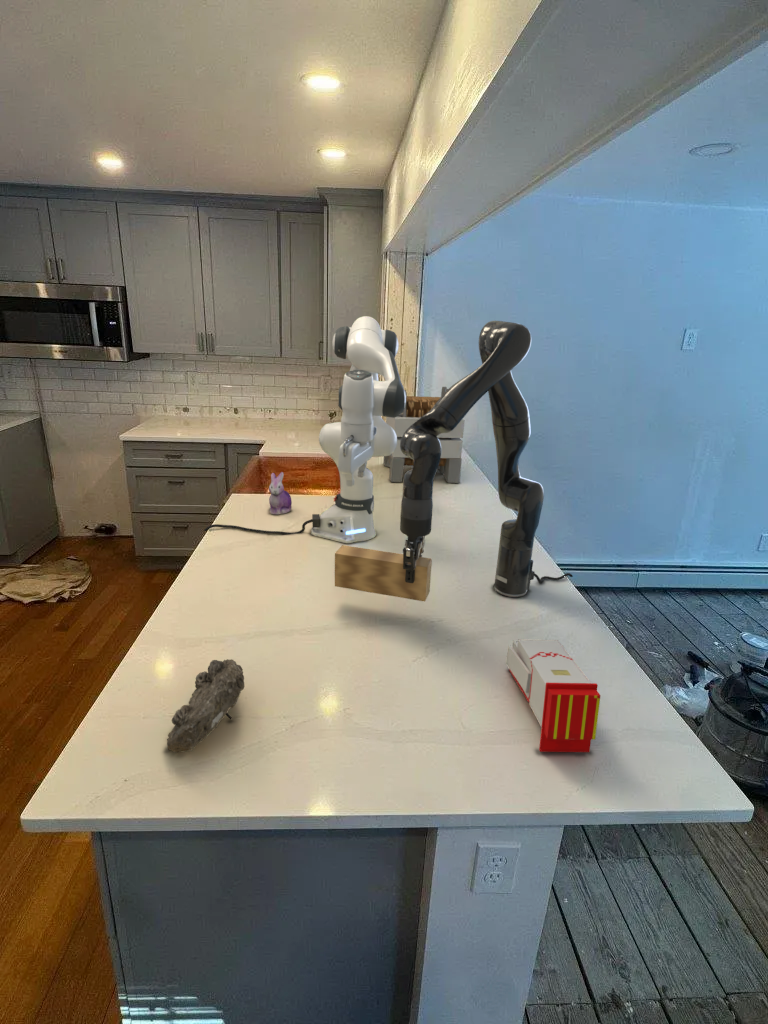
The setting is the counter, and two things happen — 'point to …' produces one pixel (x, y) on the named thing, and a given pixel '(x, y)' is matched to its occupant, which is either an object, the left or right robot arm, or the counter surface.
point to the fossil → (206, 705)
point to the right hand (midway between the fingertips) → (412, 576)
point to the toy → (556, 694)
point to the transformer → (449, 441)
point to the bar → (380, 573)
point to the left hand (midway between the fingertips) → (355, 481)
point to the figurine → (278, 496)
